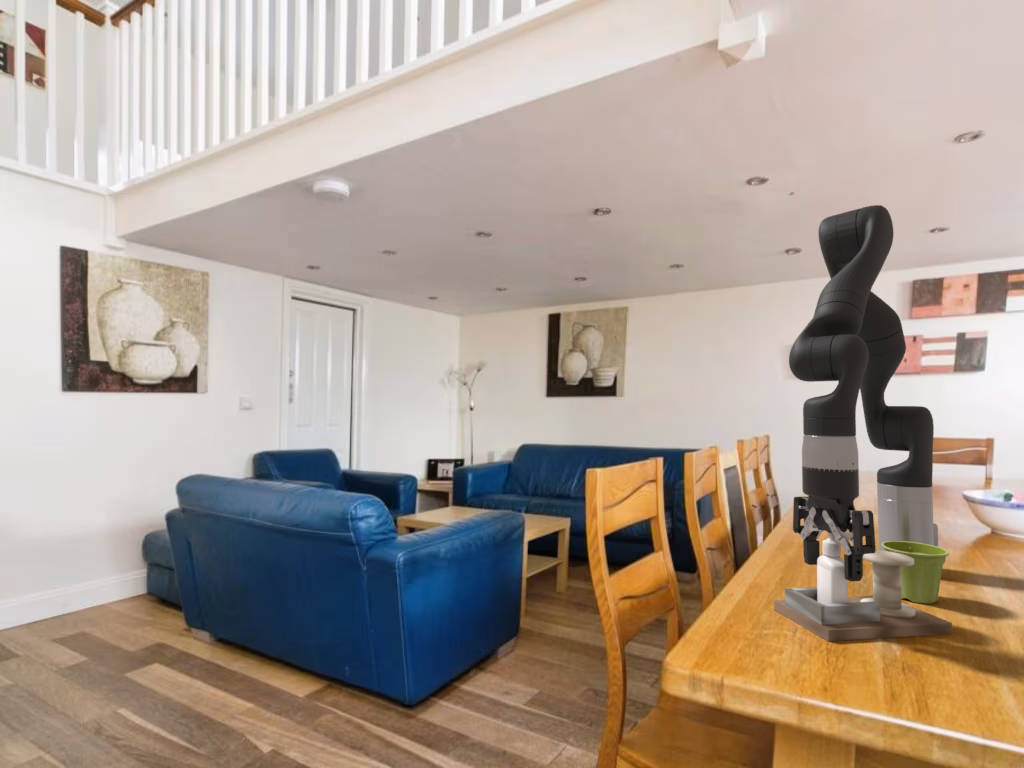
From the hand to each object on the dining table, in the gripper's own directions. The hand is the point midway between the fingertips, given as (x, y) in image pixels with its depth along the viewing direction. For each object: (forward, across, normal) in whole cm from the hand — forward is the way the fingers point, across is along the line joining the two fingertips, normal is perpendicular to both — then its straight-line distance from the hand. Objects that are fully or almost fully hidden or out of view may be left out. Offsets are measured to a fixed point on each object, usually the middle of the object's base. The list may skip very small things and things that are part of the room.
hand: (831, 571), depth 83 cm
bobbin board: (+8, 0, -4) cm, 9 cm away
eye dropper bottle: (+6, 0, 0) cm, 6 cm away
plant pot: (+8, +8, -22) cm, 25 cm away
